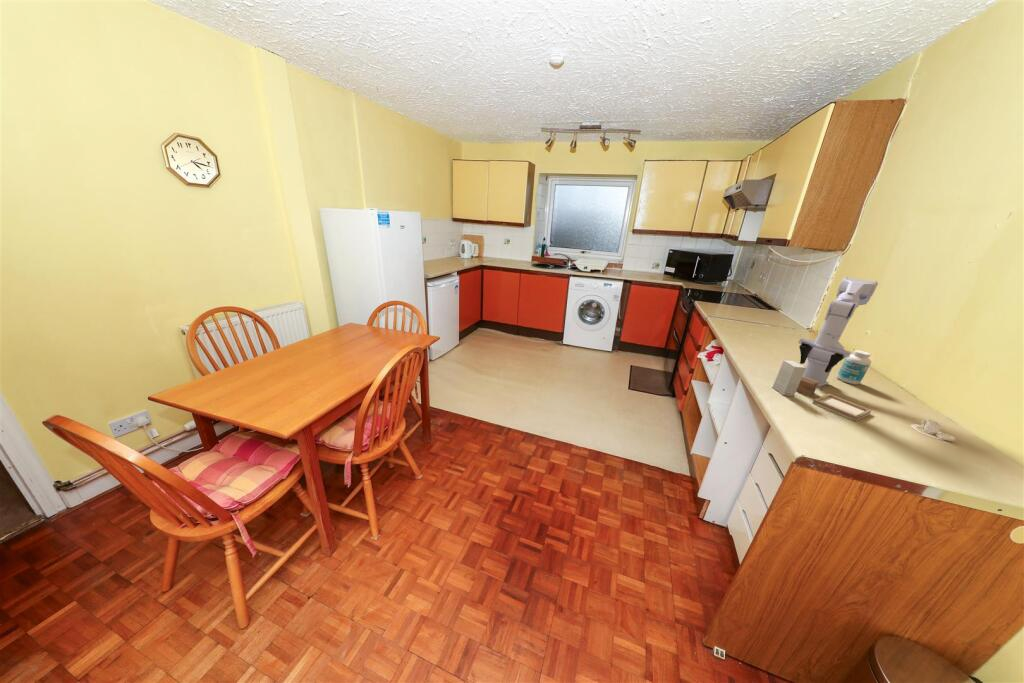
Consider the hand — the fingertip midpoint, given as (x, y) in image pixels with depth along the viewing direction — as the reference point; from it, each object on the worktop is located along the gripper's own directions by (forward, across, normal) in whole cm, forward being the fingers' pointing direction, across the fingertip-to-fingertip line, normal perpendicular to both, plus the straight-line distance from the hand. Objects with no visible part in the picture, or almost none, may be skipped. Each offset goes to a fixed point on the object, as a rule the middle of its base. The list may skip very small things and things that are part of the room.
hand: (814, 367), depth 123 cm
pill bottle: (+9, +3, +33) cm, 34 cm away
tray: (+11, +12, -1) cm, 16 cm away
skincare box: (+11, -3, -8) cm, 14 cm away
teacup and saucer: (+11, +32, +7) cm, 34 cm away
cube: (+10, 0, +1) cm, 11 cm away
